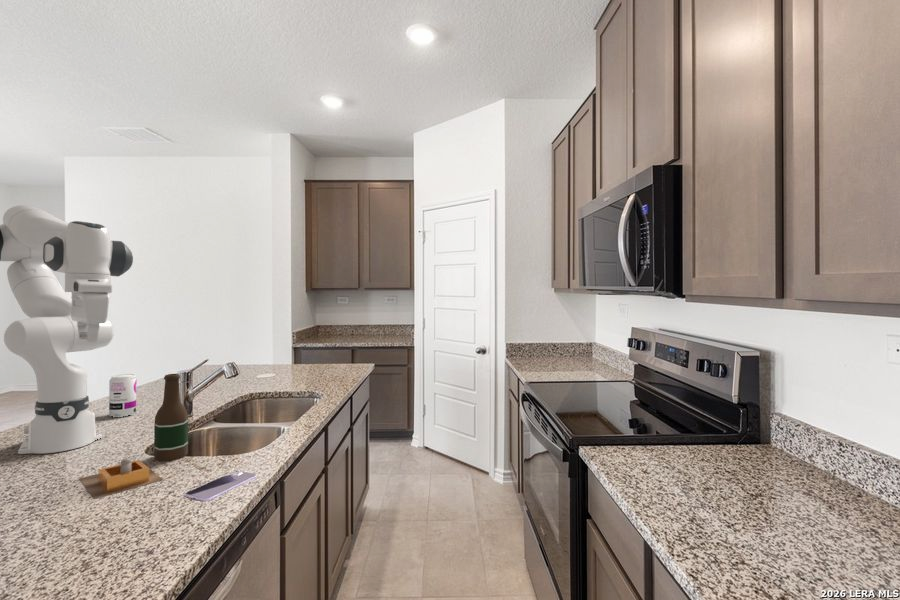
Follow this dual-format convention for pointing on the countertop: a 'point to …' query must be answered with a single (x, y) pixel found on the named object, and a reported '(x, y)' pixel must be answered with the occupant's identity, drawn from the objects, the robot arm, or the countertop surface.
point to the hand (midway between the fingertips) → (87, 340)
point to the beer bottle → (171, 424)
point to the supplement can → (122, 395)
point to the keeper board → (99, 491)
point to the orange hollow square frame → (122, 476)
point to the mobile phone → (220, 486)
